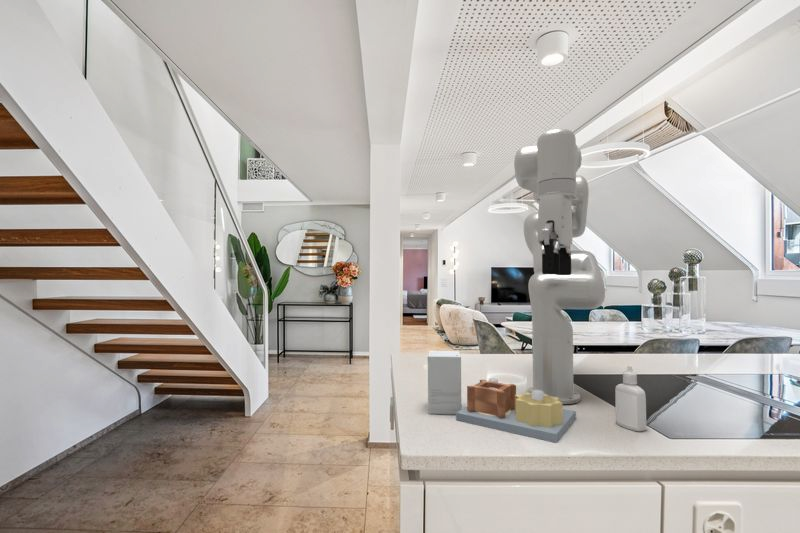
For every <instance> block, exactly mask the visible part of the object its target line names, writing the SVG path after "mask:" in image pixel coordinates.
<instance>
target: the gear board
mask: <svg viewBox="0 0 800 533" xmlns="http://www.w3.org/2000/svg"><path fill="white" fill-rule="evenodd" d="M488 381H490V382H496V383H499V379H498V378H493V377H492V378H488ZM490 388H492V387H490ZM493 389H497V388H493ZM576 418H577V411H576V410H573V409H566V408H563V404H562V403H561V402H559V398H557V397H551V396H548V395H546V394H544V392H543V391H541V390H532V393H526V392H525V393H524V394H516V395H515V409H510V410H509V411H508V412H506V413H505V418H499V417H498V416H496V415H491V414H486V413H481V412H476V411H472V412H469V411H468V410H467V406H465V407H463V408H461V410H460V411H458V412H456V414H455V420H456V421H458V422H463V423H467V424H472V425H477V426H481V427H486V428H489V429H495V430H499V431H503V432H507V433H512V434H517V435H520V436H525V437H530V438H532V439H533V438H534V439H539V440H543V441H547V442H552V443H557V442H558V441H559V440H560V439H561V438H562V436H563V435H564V434H565V433H566V431H567V430H568V428H570V426H571V425H572V424H573V423H574V421H575V420H576Z"/></svg>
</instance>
